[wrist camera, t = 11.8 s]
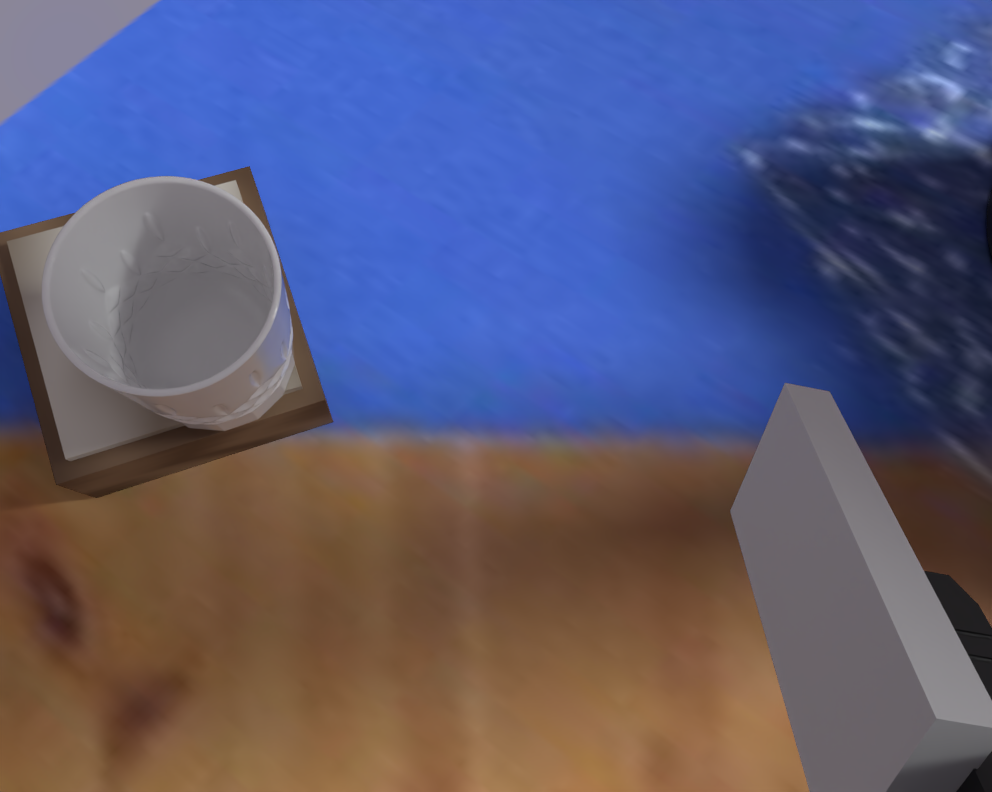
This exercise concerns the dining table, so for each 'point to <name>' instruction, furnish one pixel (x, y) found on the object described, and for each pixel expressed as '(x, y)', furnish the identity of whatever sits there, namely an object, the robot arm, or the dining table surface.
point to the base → (114, 418)
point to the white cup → (173, 301)
